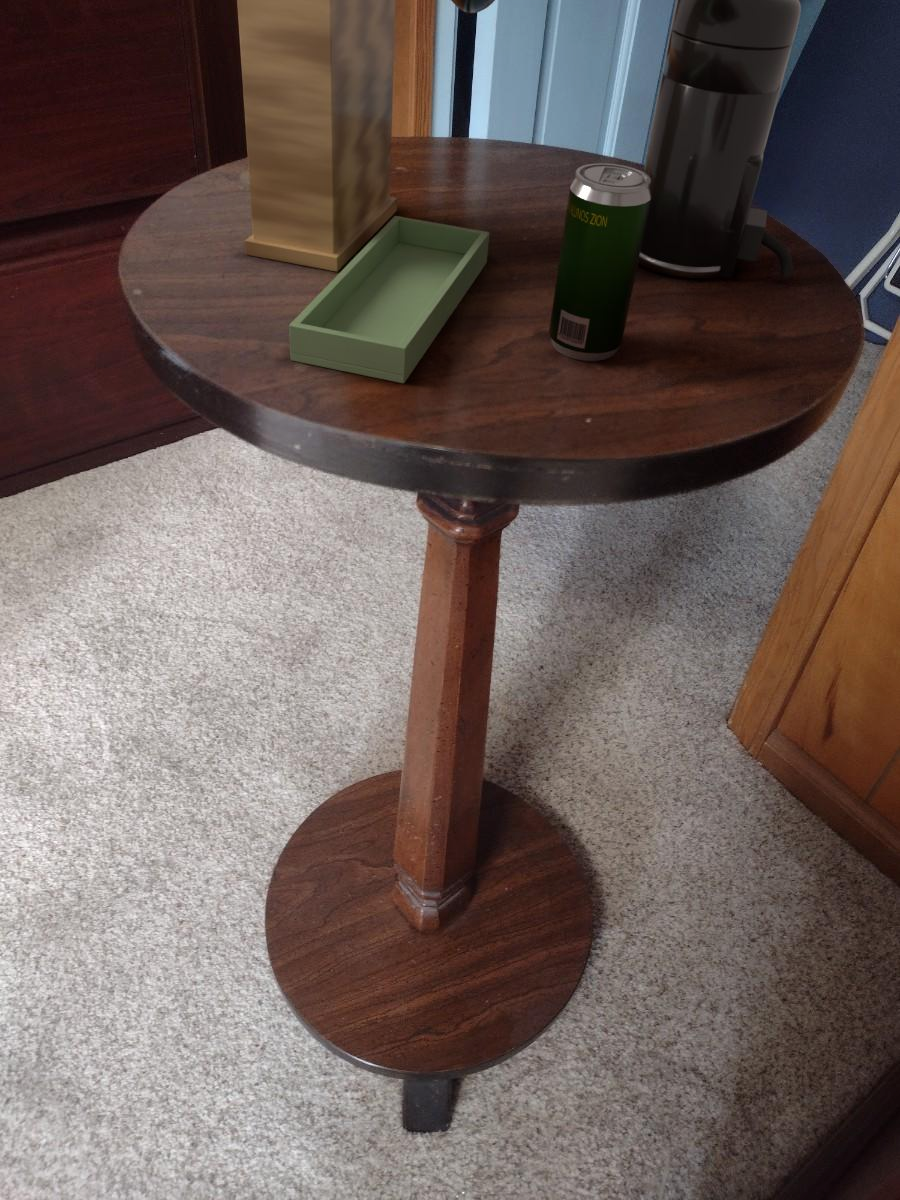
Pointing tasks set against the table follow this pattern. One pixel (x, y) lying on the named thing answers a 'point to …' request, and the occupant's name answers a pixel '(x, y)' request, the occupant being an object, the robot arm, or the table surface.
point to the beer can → (598, 260)
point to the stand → (317, 125)
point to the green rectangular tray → (390, 300)
